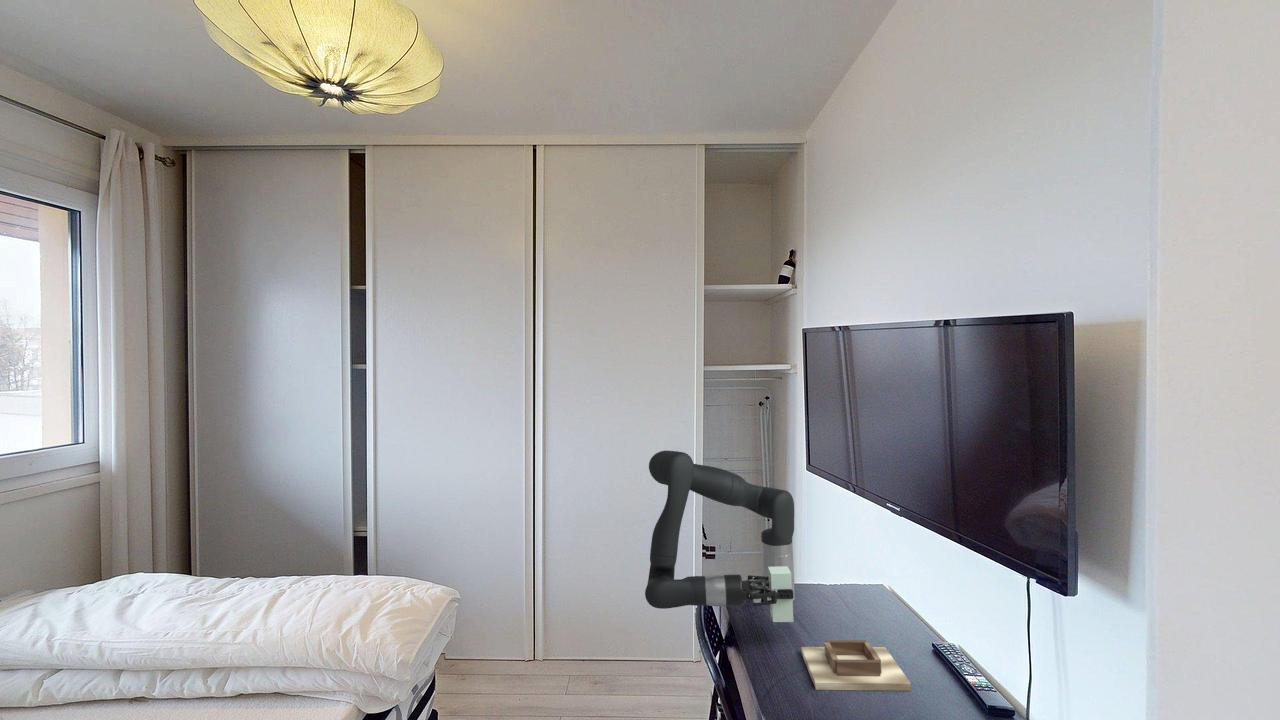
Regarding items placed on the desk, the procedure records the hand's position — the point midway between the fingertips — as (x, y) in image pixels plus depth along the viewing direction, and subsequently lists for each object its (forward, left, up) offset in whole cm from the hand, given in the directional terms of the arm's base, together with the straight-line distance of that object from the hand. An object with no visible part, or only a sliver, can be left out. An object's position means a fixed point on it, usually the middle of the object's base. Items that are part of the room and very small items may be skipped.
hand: (790, 589), depth 143 cm
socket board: (+12, +11, -14) cm, 22 cm away
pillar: (0, -3, -7) cm, 7 cm away
